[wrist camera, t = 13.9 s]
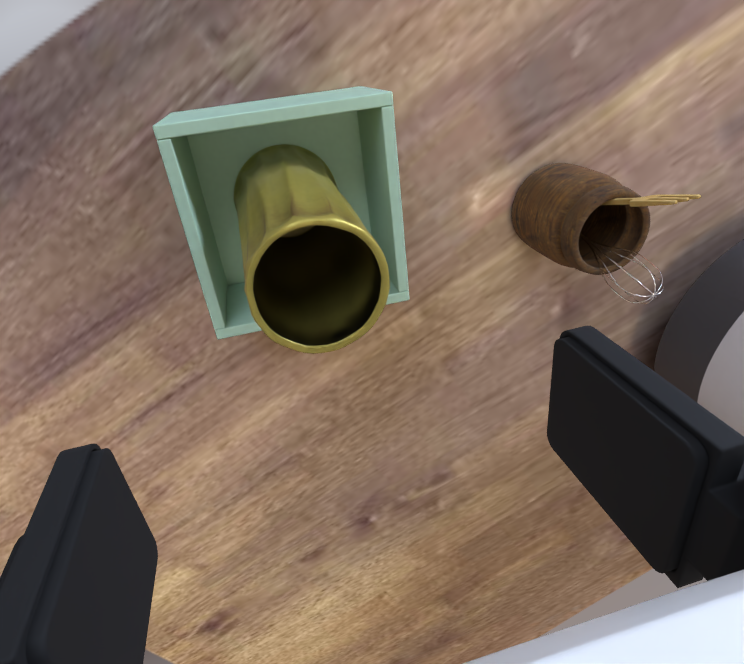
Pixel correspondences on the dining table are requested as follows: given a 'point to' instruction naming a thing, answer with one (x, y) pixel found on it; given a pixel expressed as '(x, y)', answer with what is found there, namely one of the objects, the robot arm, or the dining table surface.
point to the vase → (306, 253)
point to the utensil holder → (585, 219)
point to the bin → (268, 128)
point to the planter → (710, 340)
